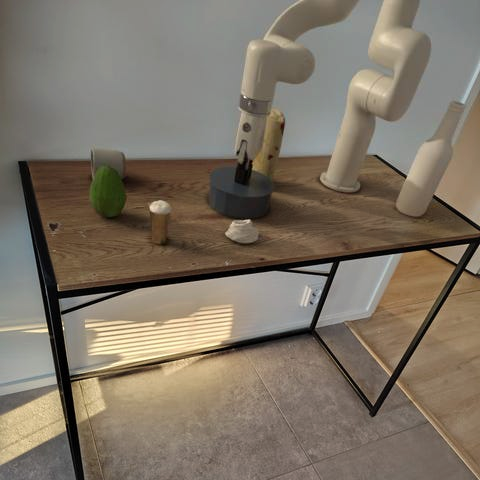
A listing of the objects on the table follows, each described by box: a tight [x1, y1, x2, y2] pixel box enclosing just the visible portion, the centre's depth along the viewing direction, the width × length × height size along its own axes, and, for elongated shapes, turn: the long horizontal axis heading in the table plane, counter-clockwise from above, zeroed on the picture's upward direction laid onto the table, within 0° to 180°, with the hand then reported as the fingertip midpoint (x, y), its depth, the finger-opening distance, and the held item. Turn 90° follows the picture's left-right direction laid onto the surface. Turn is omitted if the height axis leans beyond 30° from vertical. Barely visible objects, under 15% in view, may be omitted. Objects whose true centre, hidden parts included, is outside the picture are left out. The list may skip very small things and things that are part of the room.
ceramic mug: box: [90, 147, 127, 181], centre depth 113 cm, size 11×8×8 cm
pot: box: [208, 181, 273, 220], centre depth 114 cm, size 16×16×6 cm
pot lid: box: [209, 163, 275, 199], centre depth 111 cm, size 17×17×6 cm
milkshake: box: [145, 196, 172, 245], centre depth 94 cm, size 4×5×10 cm
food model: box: [252, 107, 286, 181], centre depth 121 cm, size 10×7×20 cm
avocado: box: [89, 165, 128, 218], centre depth 98 cm, size 8×8×12 cm
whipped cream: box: [224, 219, 260, 244], centre depth 103 cm, size 8×7×5 cm
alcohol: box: [395, 100, 467, 218], centre depth 120 cm, size 9×9×30 cm
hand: (242, 179), depth 112 cm, fingers closed on pot lid, 2 cm apart
